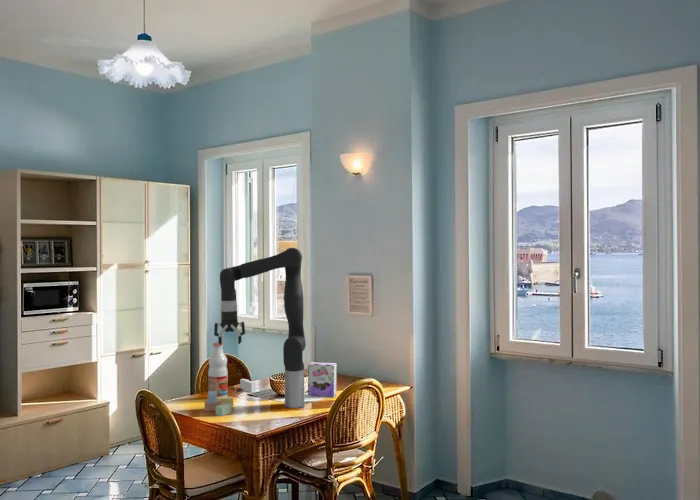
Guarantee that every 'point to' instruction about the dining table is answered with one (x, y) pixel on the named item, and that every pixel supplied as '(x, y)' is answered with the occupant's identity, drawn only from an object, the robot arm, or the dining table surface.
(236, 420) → the dining table surface
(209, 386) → the fruit juice
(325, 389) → the candy box
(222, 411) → the sage brick
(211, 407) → the terracotta brick
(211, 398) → the slate brick
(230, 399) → the ochre brick
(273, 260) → the robot arm
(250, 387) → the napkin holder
